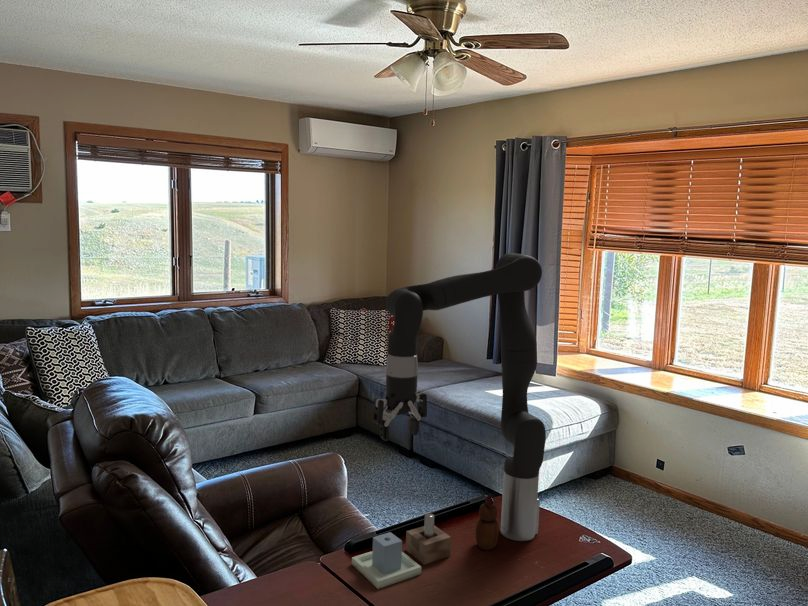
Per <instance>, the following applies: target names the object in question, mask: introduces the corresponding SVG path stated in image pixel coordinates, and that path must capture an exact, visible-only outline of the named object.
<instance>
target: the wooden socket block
mask: <svg viewBox="0 0 808 606" xmlns="http://www.w3.org/2000/svg"><path fill="white" fill-rule="evenodd" d="M405 535H406V537H405V551H406V552H408V553H409V554H410V555H411V556H413V557H414V558H415V559H416V560H417V561H419V562H421V564H422V565H424V566H425V565H428V564H430V563H434V562H436V561H439V560H442V559H445V558H448V557H450V556H451V546H452V545H451V544H452V537H451V535H449V534H448V533H446V532H445V531H443V530H441V529H440V528H439V527H438V526H436V525H435V524H434V537H432V538H429V539H426V538H425V537H424V525H422V526H419V527H416V528H412V529H410V530H406V532H405Z"/></svg>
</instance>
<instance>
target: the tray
mask: <svg viewBox="0 0 808 606" xmlns="http://www.w3.org/2000/svg"><path fill="white" fill-rule="evenodd" d="M372 553H373V550H372V551H369V552H365V553H362V554H358V555H355V556H353V557H351V565H352V566H353V567H354V568H355V569H356V570H357V571H358V572H359V573H360V574H361V575H363V577H365V578H366V579H367V581H369V582H370V583H371V584H372V585H373V587H375V588H376V589H377V590H379V589H381V588H382V589H383V588H384V587H388V586H390V585H394V584H396V583H399V582H402V581H405V580H409V579H411V578H414V577H417V576H419V575H422V566H421V565H420V564H418V563H417V562H416V561H414V560H413V559H412V557H410V556H409V555H407V554H406V553H405V552H404V551H402V559H401V569H399V570H396V571H393V572H390V573H387V574H384V575H383V574H382V573H381V572H380V571H379V570H377V569H376V568H375V567H374V566H373V565H372Z"/></svg>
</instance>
